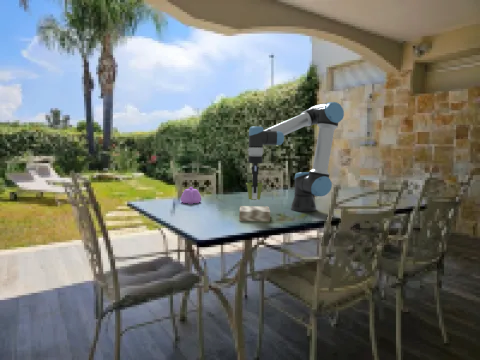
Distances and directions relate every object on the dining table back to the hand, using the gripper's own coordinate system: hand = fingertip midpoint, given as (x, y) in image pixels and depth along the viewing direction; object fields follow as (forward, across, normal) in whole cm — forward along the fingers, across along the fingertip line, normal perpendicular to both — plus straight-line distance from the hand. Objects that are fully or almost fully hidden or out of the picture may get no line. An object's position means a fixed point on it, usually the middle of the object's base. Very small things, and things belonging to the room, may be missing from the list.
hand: (254, 197), depth 195 cm
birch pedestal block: (+11, 0, 0) cm, 11 cm away
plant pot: (+1, 0, 0) cm, 1 cm away
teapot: (+12, -49, -42) cm, 65 cm away
